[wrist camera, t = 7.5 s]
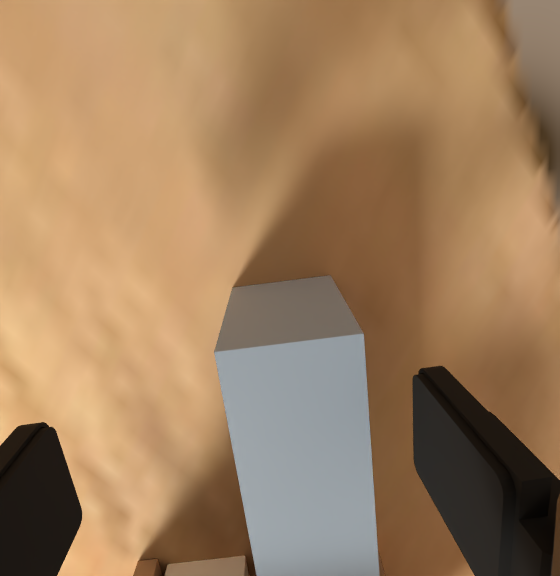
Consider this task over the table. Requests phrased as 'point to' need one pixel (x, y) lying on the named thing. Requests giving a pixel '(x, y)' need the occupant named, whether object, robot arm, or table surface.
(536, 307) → the table surface
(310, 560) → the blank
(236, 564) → the block
